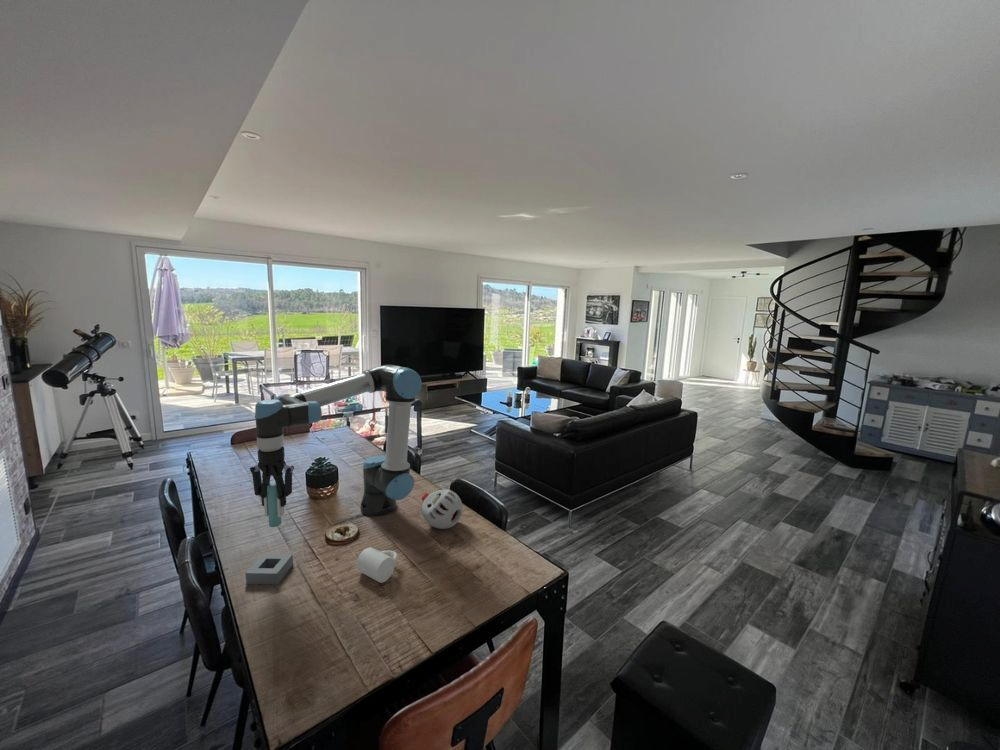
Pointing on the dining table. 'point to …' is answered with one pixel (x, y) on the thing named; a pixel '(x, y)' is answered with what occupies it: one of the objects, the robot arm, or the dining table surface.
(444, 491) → the decorative object
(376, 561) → the mug
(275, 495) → the peg
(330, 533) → the round brown cream disc
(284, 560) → the socket
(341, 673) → the dining table surface
